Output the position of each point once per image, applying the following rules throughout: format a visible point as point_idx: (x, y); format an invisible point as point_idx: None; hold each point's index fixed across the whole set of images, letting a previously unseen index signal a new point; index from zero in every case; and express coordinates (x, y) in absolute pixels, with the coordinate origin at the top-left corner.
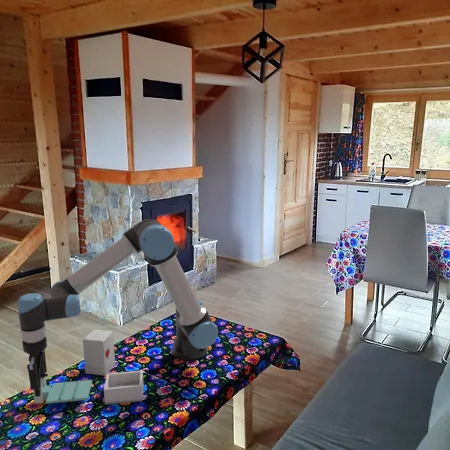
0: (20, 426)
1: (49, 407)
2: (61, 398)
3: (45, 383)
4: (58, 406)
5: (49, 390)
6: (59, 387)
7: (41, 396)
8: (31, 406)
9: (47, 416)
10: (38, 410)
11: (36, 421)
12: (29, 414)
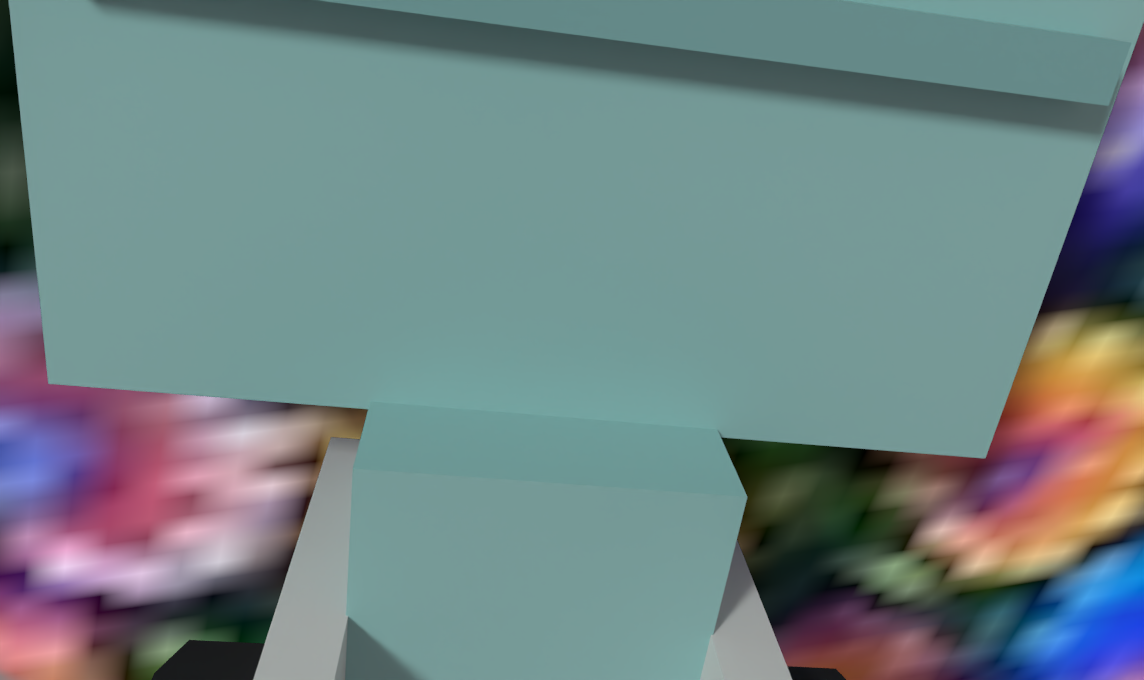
0: (1096, 671)
1: None
2: (1049, 25)
3: (323, 678)
4: None
5: (588, 461)
6: (350, 158)
7: (750, 602)
8: None
9: (1048, 300)
10: (767, 488)
11: (1099, 469)
12: (828, 608)
